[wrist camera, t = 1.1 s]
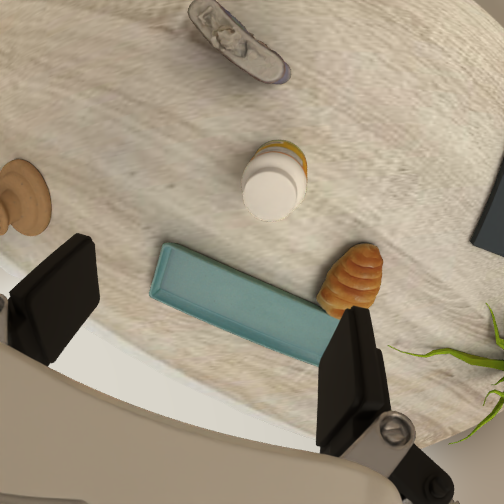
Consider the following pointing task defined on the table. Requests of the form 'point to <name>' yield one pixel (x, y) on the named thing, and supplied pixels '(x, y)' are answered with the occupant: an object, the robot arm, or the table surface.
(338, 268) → the pastry
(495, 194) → the mat
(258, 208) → the supplement bottle
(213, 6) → the flask
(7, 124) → the table surface
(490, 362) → the decorative plant
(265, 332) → the teal serving tray
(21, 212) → the candle holder
